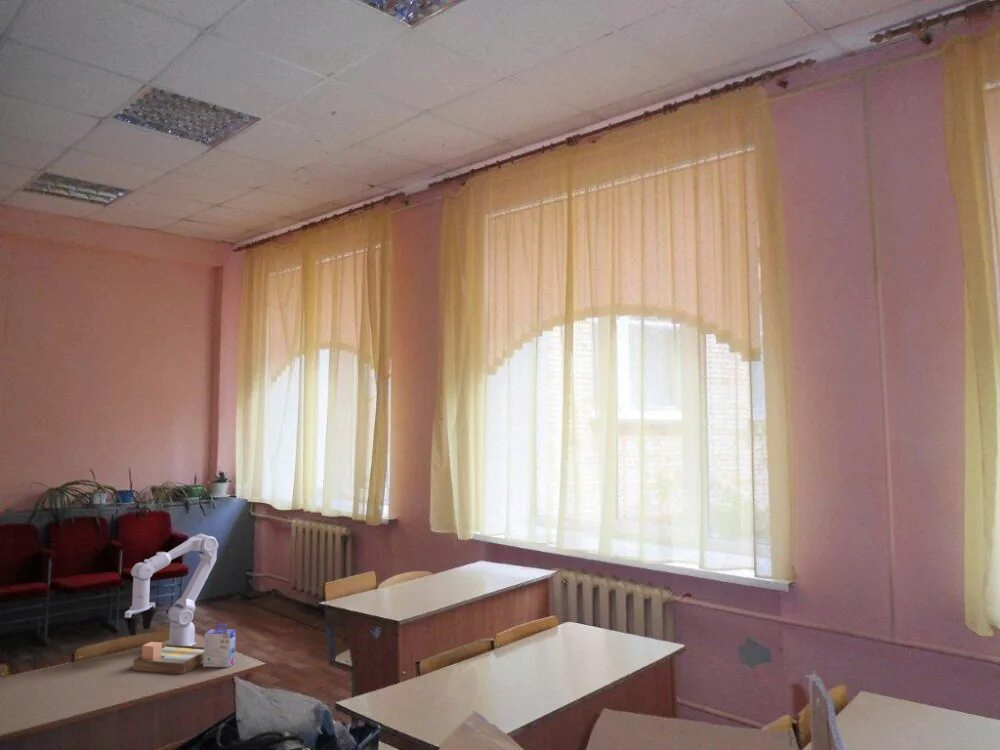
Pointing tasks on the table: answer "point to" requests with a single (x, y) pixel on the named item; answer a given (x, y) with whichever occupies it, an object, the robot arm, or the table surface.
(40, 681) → the table surface
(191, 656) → the puzzle tray
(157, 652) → the terracotta block
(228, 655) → the ink cartridge box
